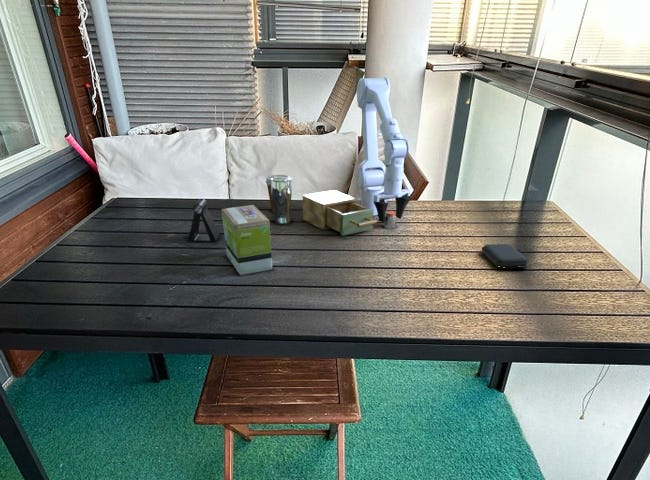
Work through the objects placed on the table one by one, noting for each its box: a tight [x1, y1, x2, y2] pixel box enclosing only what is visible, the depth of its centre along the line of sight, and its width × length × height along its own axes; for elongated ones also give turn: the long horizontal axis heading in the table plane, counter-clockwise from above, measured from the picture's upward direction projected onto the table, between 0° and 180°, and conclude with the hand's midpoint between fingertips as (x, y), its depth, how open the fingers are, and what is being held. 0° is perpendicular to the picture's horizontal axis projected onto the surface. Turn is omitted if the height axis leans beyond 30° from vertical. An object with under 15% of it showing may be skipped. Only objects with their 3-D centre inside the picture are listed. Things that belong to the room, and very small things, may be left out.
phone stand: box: [187, 198, 220, 243], centre depth 156 cm, size 9×6×12 cm, turn 88°
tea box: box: [221, 204, 273, 276], centre depth 137 cm, size 15×10×15 cm, turn 23°
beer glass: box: [271, 176, 293, 226], centre depth 169 cm, size 7×7×15 cm
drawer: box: [325, 202, 377, 237], centre depth 162 cm, size 18×12×7 cm
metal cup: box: [265, 174, 290, 213], centre depth 182 cm, size 10×10×12 cm
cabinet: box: [302, 189, 357, 231], centre depth 172 cm, size 14×14×9 cm
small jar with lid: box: [383, 210, 397, 230], centre depth 168 cm, size 4×4×5 cm
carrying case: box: [481, 243, 530, 270], centre depth 143 cm, size 11×3×15 cm
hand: (390, 219), depth 168 cm, fingers open, 7 cm apart
